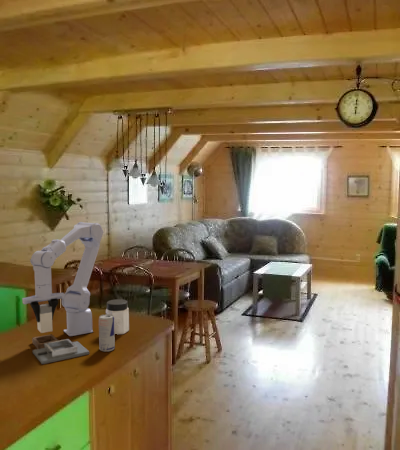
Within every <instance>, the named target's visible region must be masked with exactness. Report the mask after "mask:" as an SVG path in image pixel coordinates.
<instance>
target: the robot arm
mask: <svg viewBox="0 0 400 450" xmlns="http://www.w3.org/2000/svg"><path fill="white" fill-rule="evenodd" d="M103 235H104V230H103V227H102V225H101V224H100V223H99V222H83V221H79V222H77V223H76V224H74V225H73V228H72V229H71V230H70V231H69V232H67V233H66V234H65V235H64V236H62V238H60V239H58V238H57V239H52V240H50V243H49V244H47V245H46V246H43V247H42V249H41V250H36V251H34V253H32V255H31V258H30V259H29V261H30V264H31V265H32V270H33V272H34V293H35V295H31V296H27V297H22V298H21V299H22V301H21V302H22V304H23V305H27V304H29V305H30V306H31V309H32V311H33V313H34V316H35V320H36V322H40V314H39V311H40V305H41V304H39V303H40V302H46V301H47V302H48V303H47V304H49V305H50V306H51V307H52V321H53V320H54V315H55V311H56V309H57V306H58V304H59V300H60V299H61V305H62V307H64V310H65V311H66V329H63V332H64V333H65V334H66V335H68V336H69V337H73V336H74V337H75V336H80V335H84V334H89V333H93V332H94V331H93V313H92V311H91V309H90V308H89V306H90V301H91V300H90V298H91V297H90V296H91V292H90V291H89V289H88V288H87V287H88V285H89V282H90V279H91V275H92V274H93V273H92V272H93V269H94V266H95V263H96V259H97V256H98V253H99V249H100V247H101V240H102V238H103ZM77 240H79V241H80V242H81V244H83V245H84V250H83V254H82V255H81V259H80V262H79V266H78V268H77V271H76V275H75V276H74V277H75V278H74V281H73V283H72V284H71V285H70V286H68V287H67V288H66V291H65V292H54V293H53V286H52V267H53V266H54V263H55V261H56V260H57V258H59V257H61V255H63V254H64V253H65V252H66V251H67V247H68V246H70V245H71V244H73V243H74V242H76V241H77Z"/></svg>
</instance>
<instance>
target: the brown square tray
mask: <svg viewBox="0 0 400 450" xmlns="http://www.w3.org/2000/svg"><path fill="white" fill-rule="evenodd" d="M31 341H32V345H33V346H34V347H35V349H41V348H44V343H50V342H55V341H59V339H58V338H57V337H55V335H53V334H52V333H51V334H46V335H41V336H40V335H39V336H35V337H32V340H31Z"/></svg>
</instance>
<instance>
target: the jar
mask: <svg viewBox="0 0 400 450" xmlns="http://www.w3.org/2000/svg"><path fill="white" fill-rule="evenodd" d="M129 313H130V309H129V307H128V300H126V299H120V298H119V299H111V300H108V301H107V302H106V309H105V315H106V314H110V315H113V317H114V336H115V334H117V335H124V334H126V333H127V332H129V331H130V314H129Z"/></svg>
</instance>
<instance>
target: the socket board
mask: <svg viewBox="0 0 400 450" xmlns="http://www.w3.org/2000/svg"><path fill="white" fill-rule="evenodd" d="M43 343H44V342H43ZM32 354H33V355H34V357H35V358H36V359H37V360H38V361H39V362H40V364H41V365H45V364H49V363H55V362H60V361H63V360H68V359H73V358H79V357H82V356H87V355H90V351H89V350H88V349H87V348H86V347H84V346H83V344H81V343H80V342H79V341H71V340H70V339H69V338H66V339H61V340H58V341H55V342H50V343H44V348H41V349H37V348H35V349H32Z"/></svg>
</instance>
